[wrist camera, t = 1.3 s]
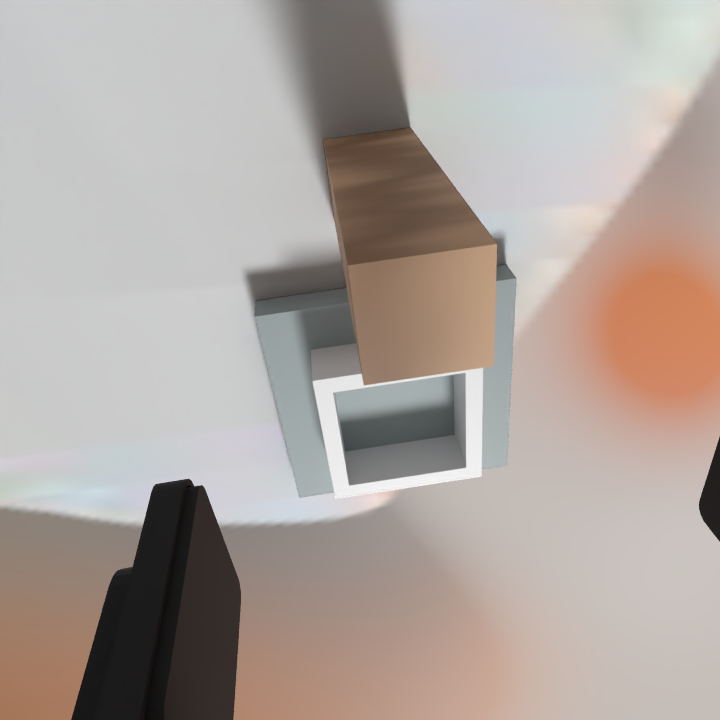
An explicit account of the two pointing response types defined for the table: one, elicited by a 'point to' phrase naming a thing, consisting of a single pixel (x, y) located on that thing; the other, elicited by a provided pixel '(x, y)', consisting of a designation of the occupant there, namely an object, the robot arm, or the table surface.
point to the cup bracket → (380, 402)
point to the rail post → (410, 259)
